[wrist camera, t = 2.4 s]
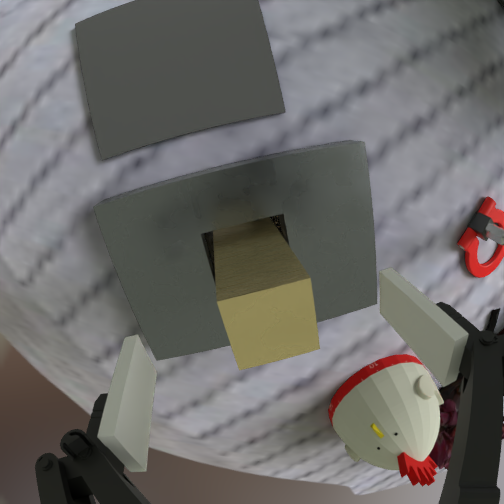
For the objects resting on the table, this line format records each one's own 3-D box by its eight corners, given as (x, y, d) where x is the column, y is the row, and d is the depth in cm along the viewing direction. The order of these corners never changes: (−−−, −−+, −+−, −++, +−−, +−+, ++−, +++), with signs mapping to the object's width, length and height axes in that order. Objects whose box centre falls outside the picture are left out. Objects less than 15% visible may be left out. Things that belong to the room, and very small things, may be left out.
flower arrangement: (523, 264, 32) (594, 312, 18) (538, 320, 38) (587, 361, 25) (380, 422, 38) (422, 500, 24) (429, 440, 45) (462, 494, 31)
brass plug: (268, 216, 25) (310, 277, 15) (279, 267, 27) (319, 348, 16) (212, 230, 25) (216, 301, 14) (226, 280, 26) (239, 370, 16)
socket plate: (350, 140, 23) (364, 141, 21) (365, 290, 29) (377, 303, 26) (103, 199, 22) (93, 207, 20) (159, 343, 28) (156, 360, 26)
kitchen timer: (385, 338, 32) (457, 437, 18) (438, 370, 36) (495, 443, 22) (306, 417, 35) (341, 519, 21) (370, 434, 39) (408, 511, 25)
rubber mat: (250, -21, 17) (251, -24, 17) (283, 112, 22) (285, 112, 21) (77, 25, 17) (75, 23, 16) (104, 159, 21) (101, 160, 21)
